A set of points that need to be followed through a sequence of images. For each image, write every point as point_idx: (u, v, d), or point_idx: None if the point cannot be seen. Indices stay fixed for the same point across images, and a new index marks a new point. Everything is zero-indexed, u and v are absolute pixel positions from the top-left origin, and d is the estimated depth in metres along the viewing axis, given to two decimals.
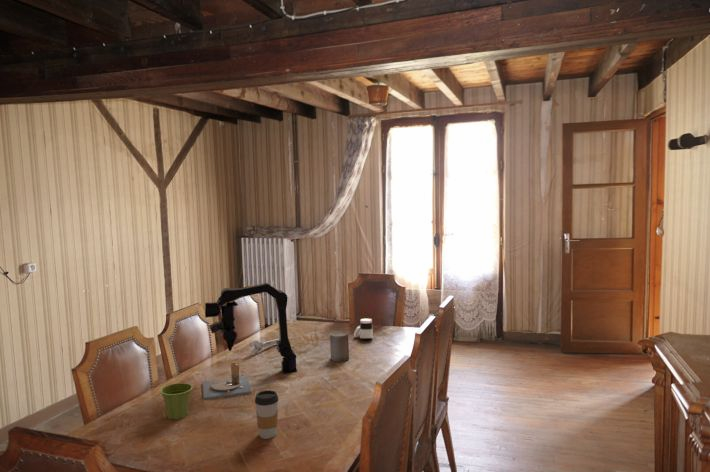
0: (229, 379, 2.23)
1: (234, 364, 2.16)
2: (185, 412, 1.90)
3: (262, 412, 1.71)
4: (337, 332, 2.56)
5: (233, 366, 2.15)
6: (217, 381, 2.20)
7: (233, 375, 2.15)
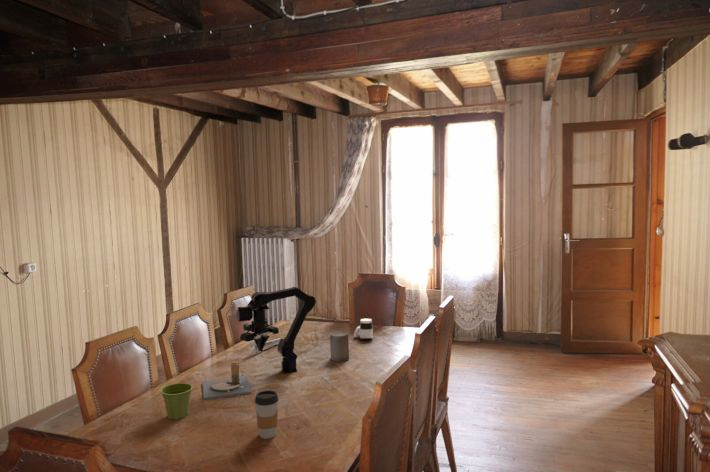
0: (229, 379, 2.23)
1: (234, 364, 2.16)
2: (185, 412, 1.90)
3: (262, 412, 1.71)
4: (337, 332, 2.56)
5: (233, 366, 2.15)
6: (217, 381, 2.20)
7: (233, 375, 2.15)
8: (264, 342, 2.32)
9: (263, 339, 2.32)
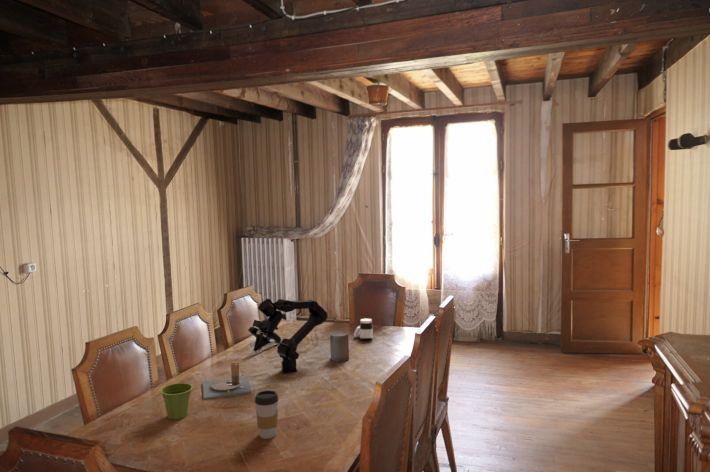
0: (229, 379, 2.23)
1: (234, 364, 2.16)
2: (185, 412, 1.90)
3: (262, 412, 1.71)
4: (337, 332, 2.56)
5: (233, 366, 2.15)
6: (217, 381, 2.20)
7: (233, 375, 2.15)
8: None
9: None
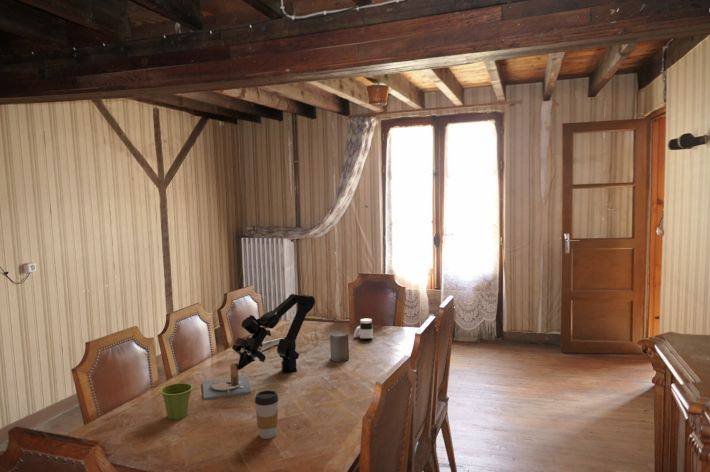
0: (230, 379, 2.23)
1: (233, 364, 2.16)
2: (185, 412, 1.90)
3: (262, 412, 1.71)
4: (337, 332, 2.56)
5: (232, 366, 2.14)
6: (218, 381, 2.21)
7: (232, 375, 2.15)
8: None
9: None
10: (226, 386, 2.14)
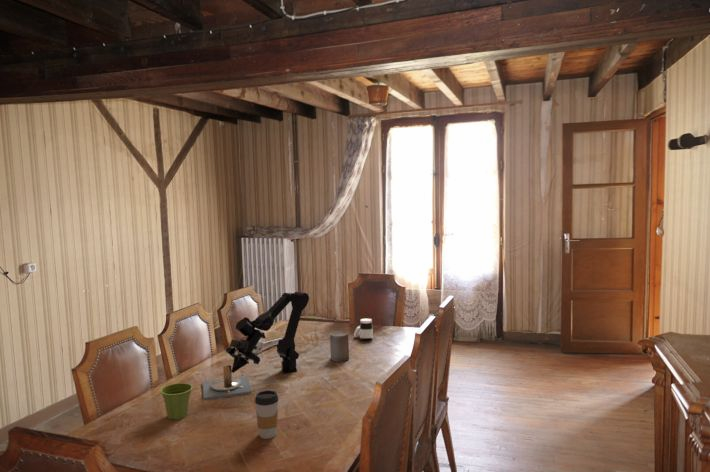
0: (234, 380, 2.21)
1: (226, 366, 2.13)
2: (185, 412, 1.90)
3: (262, 412, 1.71)
4: (337, 332, 2.56)
5: (223, 368, 2.13)
6: None
7: None
8: None
9: None
10: (219, 386, 2.15)
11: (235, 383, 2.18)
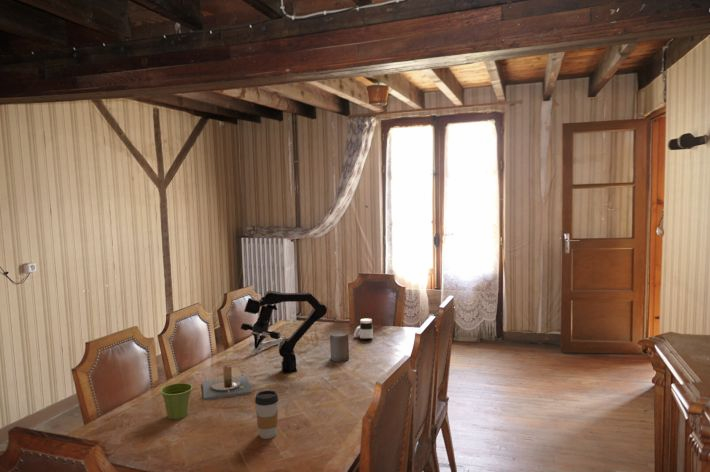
0: (234, 380, 2.21)
1: (226, 366, 2.13)
2: (185, 412, 1.90)
3: (262, 412, 1.71)
4: (337, 332, 2.56)
5: (223, 368, 2.13)
6: None
7: None
8: None
9: None
10: (219, 386, 2.15)
11: (235, 383, 2.18)
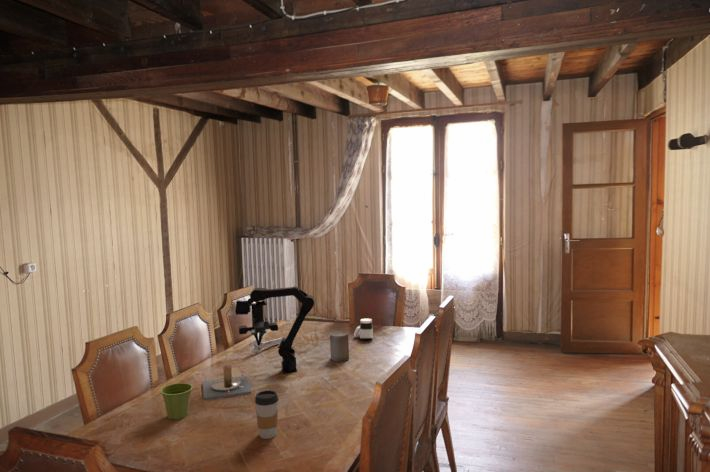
0: (234, 380, 2.21)
1: (226, 366, 2.13)
2: (185, 412, 1.90)
3: (262, 412, 1.71)
4: (337, 332, 2.56)
5: (223, 368, 2.13)
6: None
7: None
8: None
9: None
10: (219, 386, 2.15)
11: (235, 383, 2.18)
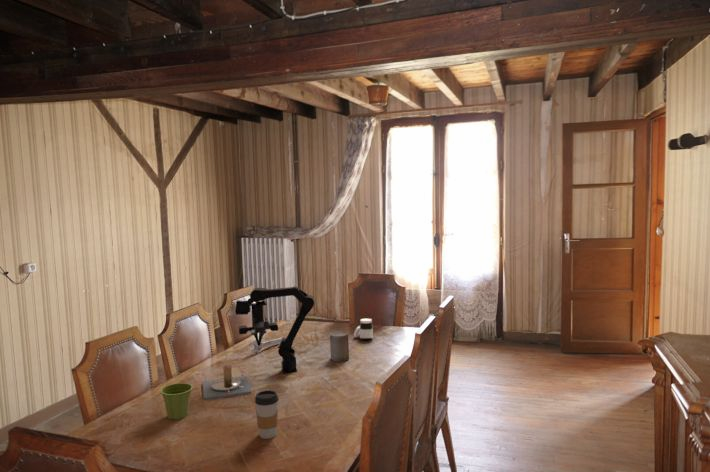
0: (234, 380, 2.21)
1: (226, 366, 2.13)
2: (185, 412, 1.90)
3: (262, 412, 1.71)
4: (337, 332, 2.56)
5: (223, 368, 2.13)
6: None
7: None
8: None
9: None
10: (219, 386, 2.15)
11: (235, 383, 2.18)
